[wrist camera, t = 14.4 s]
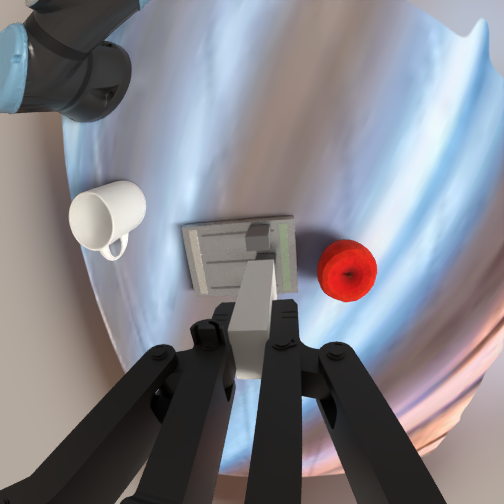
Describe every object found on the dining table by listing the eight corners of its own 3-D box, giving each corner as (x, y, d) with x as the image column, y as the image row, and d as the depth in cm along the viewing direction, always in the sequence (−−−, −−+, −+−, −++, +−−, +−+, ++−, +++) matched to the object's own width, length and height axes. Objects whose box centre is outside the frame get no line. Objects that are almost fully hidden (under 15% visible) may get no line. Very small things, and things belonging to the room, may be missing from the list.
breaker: (249, 225, 41) (244, 237, 36) (270, 224, 40) (268, 235, 36) (250, 238, 41) (246, 251, 37) (271, 237, 41) (269, 250, 36)
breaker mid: (256, 254, 42) (252, 270, 37) (276, 253, 42) (275, 268, 37) (257, 266, 43) (254, 283, 38) (277, 265, 42) (276, 282, 38)
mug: (113, 246, 47) (79, 270, 37) (104, 181, 43) (64, 194, 33) (153, 246, 46) (123, 274, 36) (145, 177, 42) (109, 189, 32)
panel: (185, 224, 44) (181, 228, 42) (293, 215, 42) (294, 219, 40) (198, 290, 48) (195, 296, 46) (297, 286, 46) (297, 292, 44)
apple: (374, 266, 43) (388, 288, 36) (328, 290, 46) (335, 316, 38) (352, 220, 41) (366, 236, 34) (303, 247, 43) (307, 268, 36)
